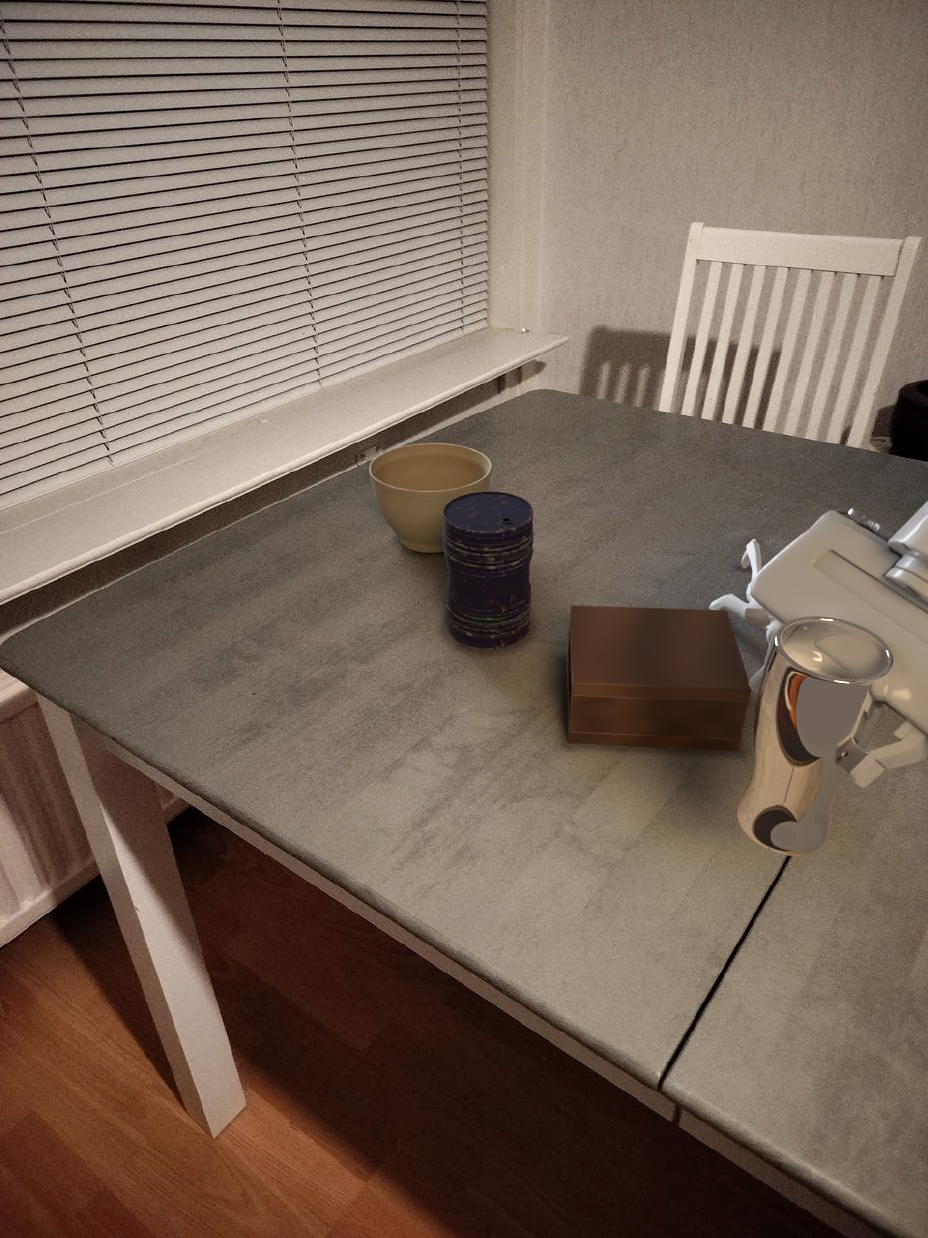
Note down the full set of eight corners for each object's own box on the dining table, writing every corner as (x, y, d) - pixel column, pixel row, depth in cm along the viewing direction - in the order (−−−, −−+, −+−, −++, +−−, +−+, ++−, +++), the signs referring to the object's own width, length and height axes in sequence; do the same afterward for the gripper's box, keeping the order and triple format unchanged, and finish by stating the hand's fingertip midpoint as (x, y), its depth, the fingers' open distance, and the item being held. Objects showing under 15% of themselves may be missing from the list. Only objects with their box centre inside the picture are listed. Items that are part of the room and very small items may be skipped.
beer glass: (714, 832, 56) (756, 657, 47) (748, 770, 61) (791, 601, 52) (820, 879, 53) (884, 700, 44) (847, 810, 57) (910, 636, 49)
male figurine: (712, 577, 108) (701, 663, 86) (720, 533, 105) (710, 610, 84) (823, 593, 104) (840, 687, 83) (834, 547, 102) (854, 632, 80)
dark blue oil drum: (429, 623, 97) (423, 509, 89) (491, 593, 102) (491, 482, 94) (485, 661, 91) (484, 542, 82) (548, 627, 96) (553, 512, 87)
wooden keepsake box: (715, 668, 89) (726, 610, 85) (737, 751, 78) (751, 690, 74) (566, 662, 90) (570, 605, 86) (568, 743, 80) (572, 682, 75)
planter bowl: (493, 566, 108) (494, 489, 102) (370, 568, 108) (363, 492, 102) (489, 510, 121) (489, 440, 115) (380, 512, 121) (374, 442, 115)
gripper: (824, 472, 55) (681, 625, 58) (1127, 638, 39) (911, 837, 42) (859, 519, 59) (723, 660, 62) (1148, 686, 43) (949, 866, 46)
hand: (801, 734), depth 52 cm, fingers closed on beer glass, 7 cm apart
